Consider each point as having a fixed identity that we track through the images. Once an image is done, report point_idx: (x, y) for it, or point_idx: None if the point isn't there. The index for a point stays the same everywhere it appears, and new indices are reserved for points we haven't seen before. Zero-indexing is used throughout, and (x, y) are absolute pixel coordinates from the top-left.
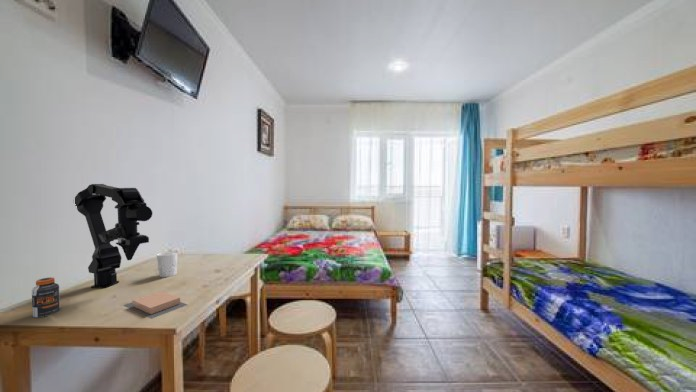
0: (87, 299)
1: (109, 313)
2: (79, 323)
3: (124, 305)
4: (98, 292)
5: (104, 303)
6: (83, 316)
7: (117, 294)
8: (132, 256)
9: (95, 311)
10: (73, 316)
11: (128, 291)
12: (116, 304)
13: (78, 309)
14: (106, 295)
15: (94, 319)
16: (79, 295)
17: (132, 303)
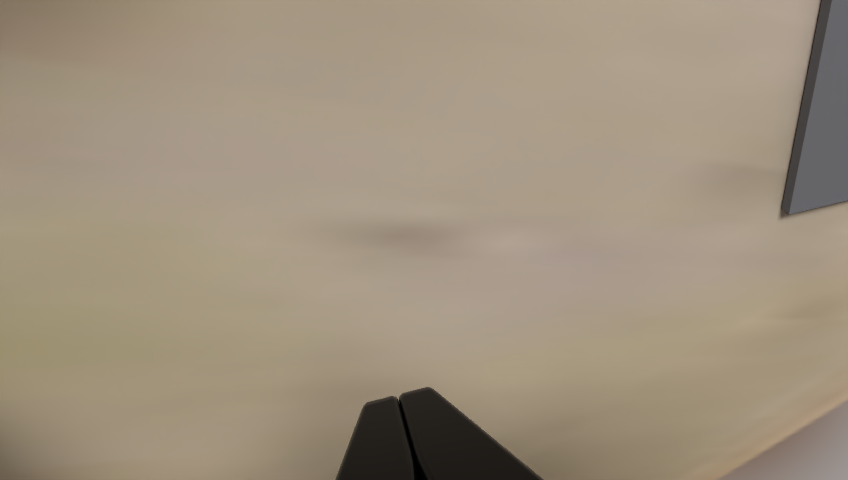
0: (280, 414)
1: (816, 293)
2: (787, 418)
3: (807, 207)
4: (85, 350)
5: (544, 313)
6: (691, 410)
7: (355, 211)
8: (483, 445)
9: (672, 361)
10: (627, 451)
11: (340, 102)
12: (673, 244)
13: (506, 442)
14: (291, 294)
15: (817, 362)
16: (61, 470)
17: (836, 150)
